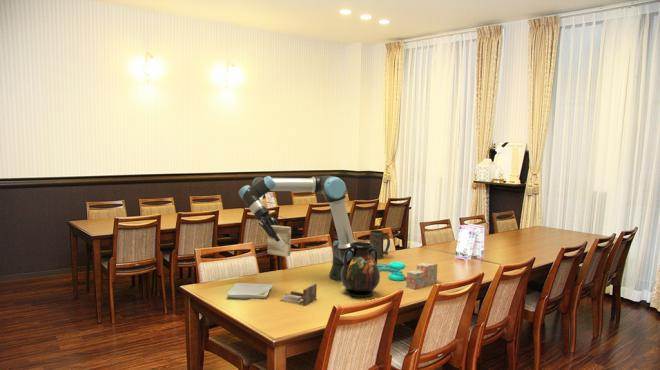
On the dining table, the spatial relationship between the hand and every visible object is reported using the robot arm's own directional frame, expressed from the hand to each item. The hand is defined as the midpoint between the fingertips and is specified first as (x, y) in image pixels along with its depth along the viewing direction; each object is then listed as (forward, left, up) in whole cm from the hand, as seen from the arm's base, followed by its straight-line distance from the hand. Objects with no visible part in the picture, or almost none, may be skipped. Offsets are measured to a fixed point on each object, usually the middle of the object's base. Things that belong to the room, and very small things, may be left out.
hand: (285, 244), depth 258 cm
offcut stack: (-5, +10, -27) cm, 29 cm away
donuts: (-68, -39, -28) cm, 83 cm away
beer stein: (-66, -94, -28) cm, 118 cm away
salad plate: (+18, -5, -29) cm, 34 cm away
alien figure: (-64, -60, -29) cm, 92 cm away
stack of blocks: (-80, -26, -28) cm, 89 cm away
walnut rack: (-8, +7, -28) cm, 30 cm away
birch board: (+3, -2, -6) cm, 7 cm away
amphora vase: (-41, -7, -28) cm, 50 cm away
